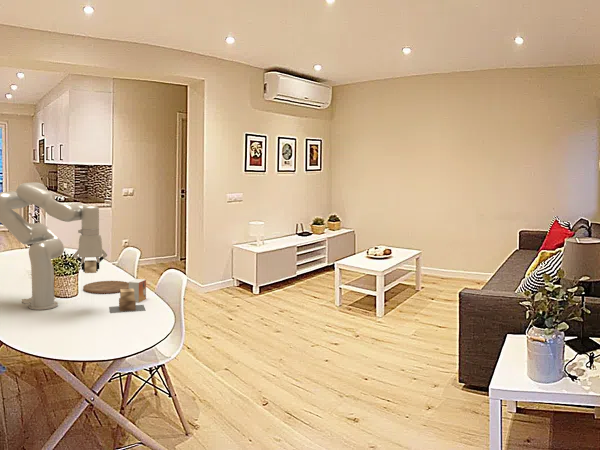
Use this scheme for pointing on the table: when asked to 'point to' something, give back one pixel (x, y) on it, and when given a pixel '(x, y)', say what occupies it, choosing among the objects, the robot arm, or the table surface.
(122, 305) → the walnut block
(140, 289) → the small box
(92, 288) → the trivet
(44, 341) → the table surface
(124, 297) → the oak block
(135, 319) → the table surface
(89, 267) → the maple cube
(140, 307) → the slate mat
